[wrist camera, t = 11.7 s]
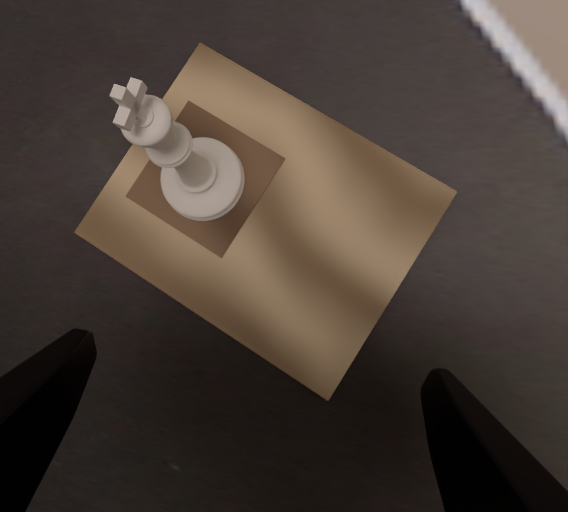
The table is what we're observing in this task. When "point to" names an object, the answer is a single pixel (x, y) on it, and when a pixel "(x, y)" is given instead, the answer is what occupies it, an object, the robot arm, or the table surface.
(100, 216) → the board
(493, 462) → the robot arm
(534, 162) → the table surface
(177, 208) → the chess piece
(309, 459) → the table surface
